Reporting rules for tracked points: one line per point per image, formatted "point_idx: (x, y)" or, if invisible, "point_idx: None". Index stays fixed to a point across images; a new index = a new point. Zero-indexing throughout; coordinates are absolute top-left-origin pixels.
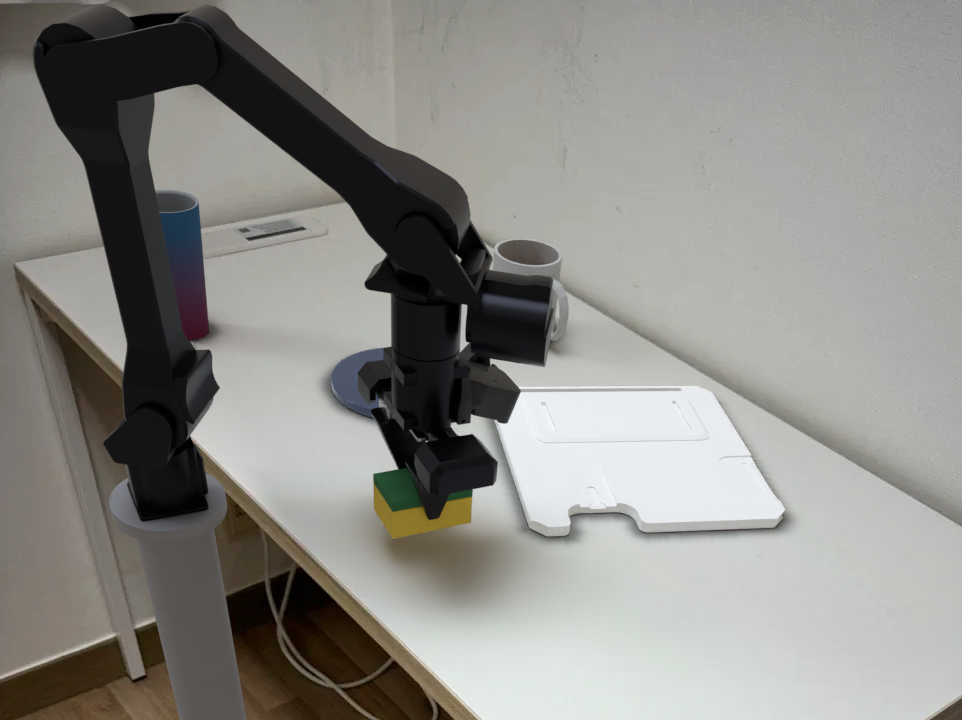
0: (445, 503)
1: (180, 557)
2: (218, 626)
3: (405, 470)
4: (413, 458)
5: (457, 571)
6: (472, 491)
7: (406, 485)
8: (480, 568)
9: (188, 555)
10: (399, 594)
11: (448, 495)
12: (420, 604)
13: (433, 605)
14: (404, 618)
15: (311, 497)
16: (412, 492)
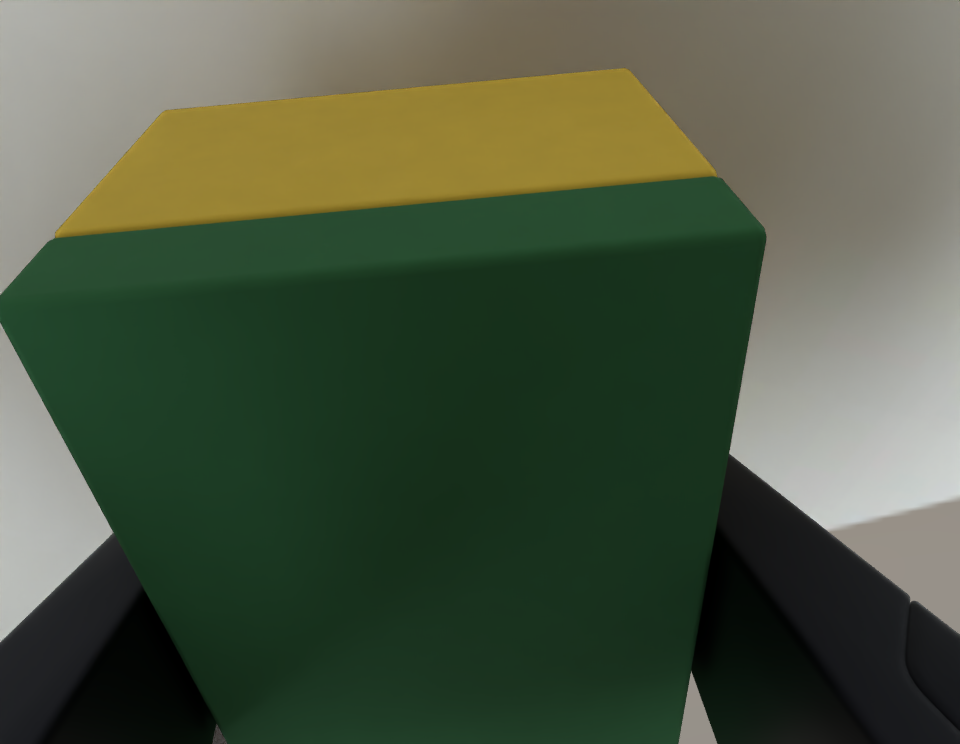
0: (792, 504)
1: (224, 740)
2: None
3: (255, 715)
4: (131, 733)
5: (751, 161)
6: (739, 204)
7: (483, 729)
8: (796, 4)
9: (219, 732)
10: (769, 448)
11: (885, 584)
12: (876, 392)
13: (917, 346)
14: (912, 460)
15: (12, 611)
16: (597, 714)
